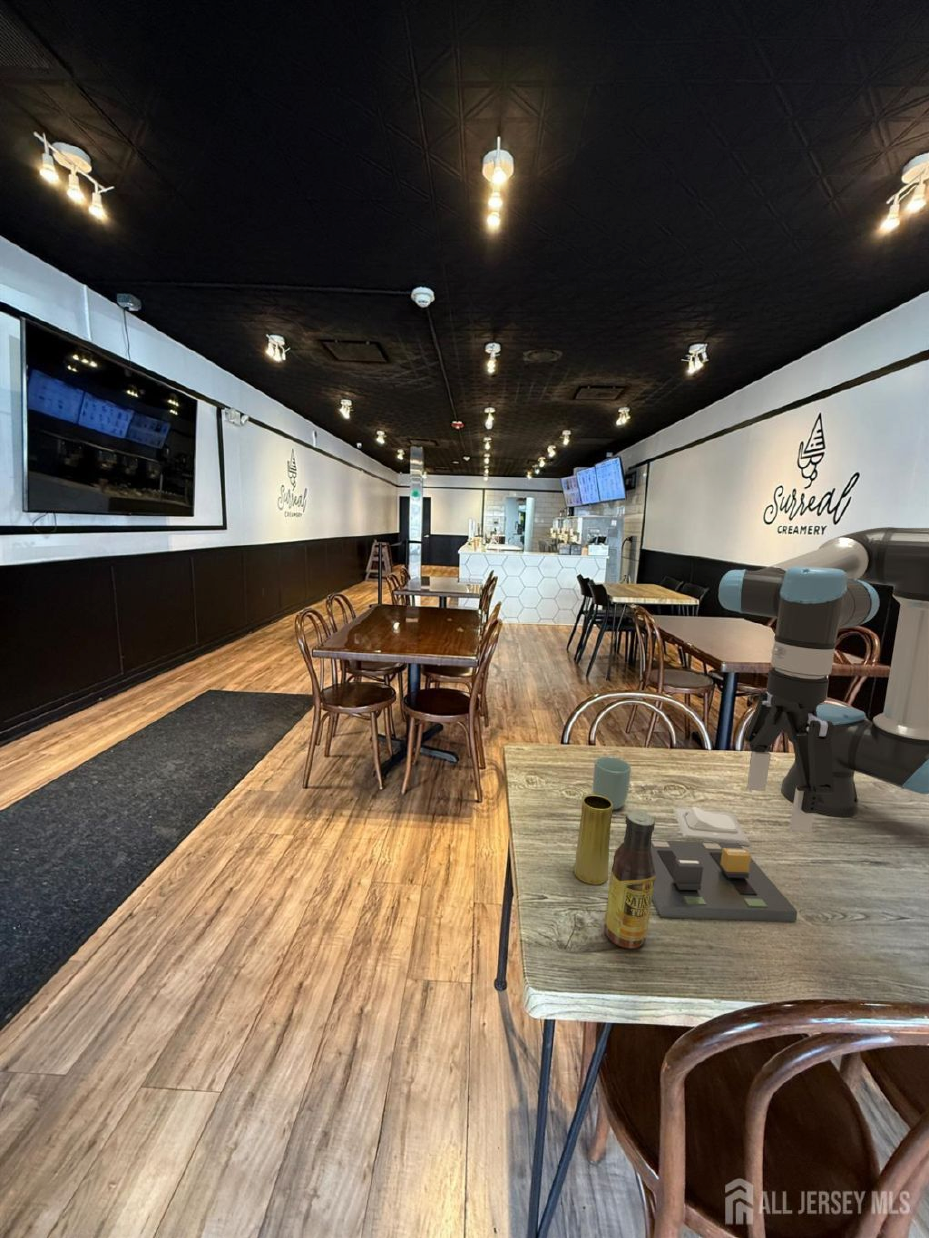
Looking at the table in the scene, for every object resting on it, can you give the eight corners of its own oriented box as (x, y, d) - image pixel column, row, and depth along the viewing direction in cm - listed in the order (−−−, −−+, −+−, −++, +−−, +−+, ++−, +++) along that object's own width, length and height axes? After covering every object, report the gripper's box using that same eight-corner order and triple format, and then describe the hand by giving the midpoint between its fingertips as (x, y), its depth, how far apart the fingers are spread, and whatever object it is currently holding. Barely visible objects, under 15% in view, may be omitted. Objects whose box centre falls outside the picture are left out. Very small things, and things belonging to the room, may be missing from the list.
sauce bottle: (622, 957, 75) (635, 834, 71) (595, 926, 80) (606, 811, 77) (656, 944, 77) (671, 825, 74) (628, 915, 83) (640, 803, 79)
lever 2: (740, 867, 92) (743, 846, 91) (749, 878, 89) (752, 856, 88) (718, 866, 92) (721, 845, 91) (726, 877, 89) (730, 855, 88)
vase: (614, 883, 90) (621, 809, 88) (582, 887, 89) (589, 812, 86) (598, 861, 96) (605, 791, 93) (568, 864, 95) (574, 794, 92)
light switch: (673, 797, 115) (734, 802, 113) (672, 814, 116) (733, 819, 113) (683, 824, 105) (751, 830, 102) (682, 842, 105) (750, 849, 103)
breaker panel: (737, 852, 100) (738, 842, 100) (795, 922, 83) (797, 910, 82) (626, 848, 100) (627, 838, 100) (660, 917, 83) (662, 905, 82)
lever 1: (693, 878, 89) (696, 856, 88) (701, 890, 86) (704, 867, 85) (671, 877, 89) (673, 855, 88) (678, 889, 86) (681, 867, 85)
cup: (614, 818, 111) (618, 775, 109) (584, 803, 116) (588, 762, 115) (633, 806, 116) (637, 765, 114) (603, 792, 122) (607, 753, 120)
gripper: (733, 651, 87) (716, 771, 91) (828, 696, 64) (800, 854, 68) (777, 653, 87) (758, 773, 91) (888, 698, 64) (856, 856, 68)
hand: (776, 808), depth 79 cm, fingers open, 11 cm apart
